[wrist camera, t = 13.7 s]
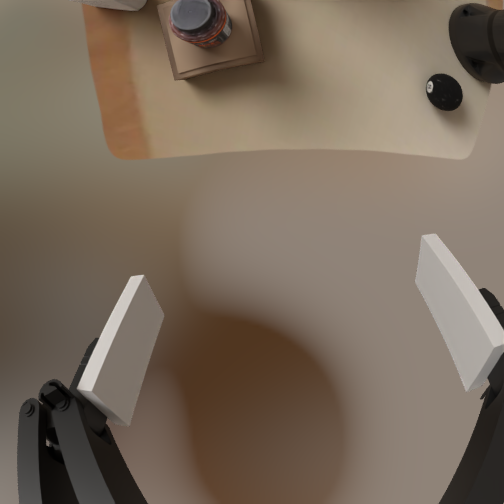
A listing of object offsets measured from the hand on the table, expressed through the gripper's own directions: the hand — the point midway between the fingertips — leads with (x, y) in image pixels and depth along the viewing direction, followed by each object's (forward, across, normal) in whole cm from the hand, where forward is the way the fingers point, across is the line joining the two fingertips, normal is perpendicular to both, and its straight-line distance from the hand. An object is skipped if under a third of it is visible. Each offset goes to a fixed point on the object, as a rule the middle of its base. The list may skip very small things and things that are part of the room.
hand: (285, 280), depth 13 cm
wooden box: (+35, -5, +17) cm, 39 cm away
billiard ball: (+35, +28, +5) cm, 45 cm away
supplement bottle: (+30, -5, +17) cm, 34 cm away
